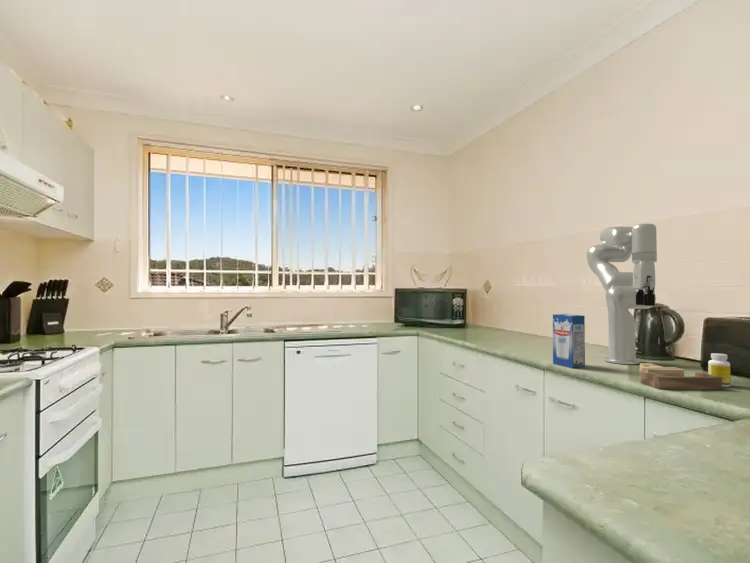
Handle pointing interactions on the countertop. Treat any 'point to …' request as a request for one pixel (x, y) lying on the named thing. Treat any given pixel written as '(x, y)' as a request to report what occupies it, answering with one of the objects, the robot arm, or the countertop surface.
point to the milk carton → (569, 340)
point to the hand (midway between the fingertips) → (644, 305)
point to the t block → (661, 370)
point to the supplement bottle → (720, 368)
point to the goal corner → (682, 381)
